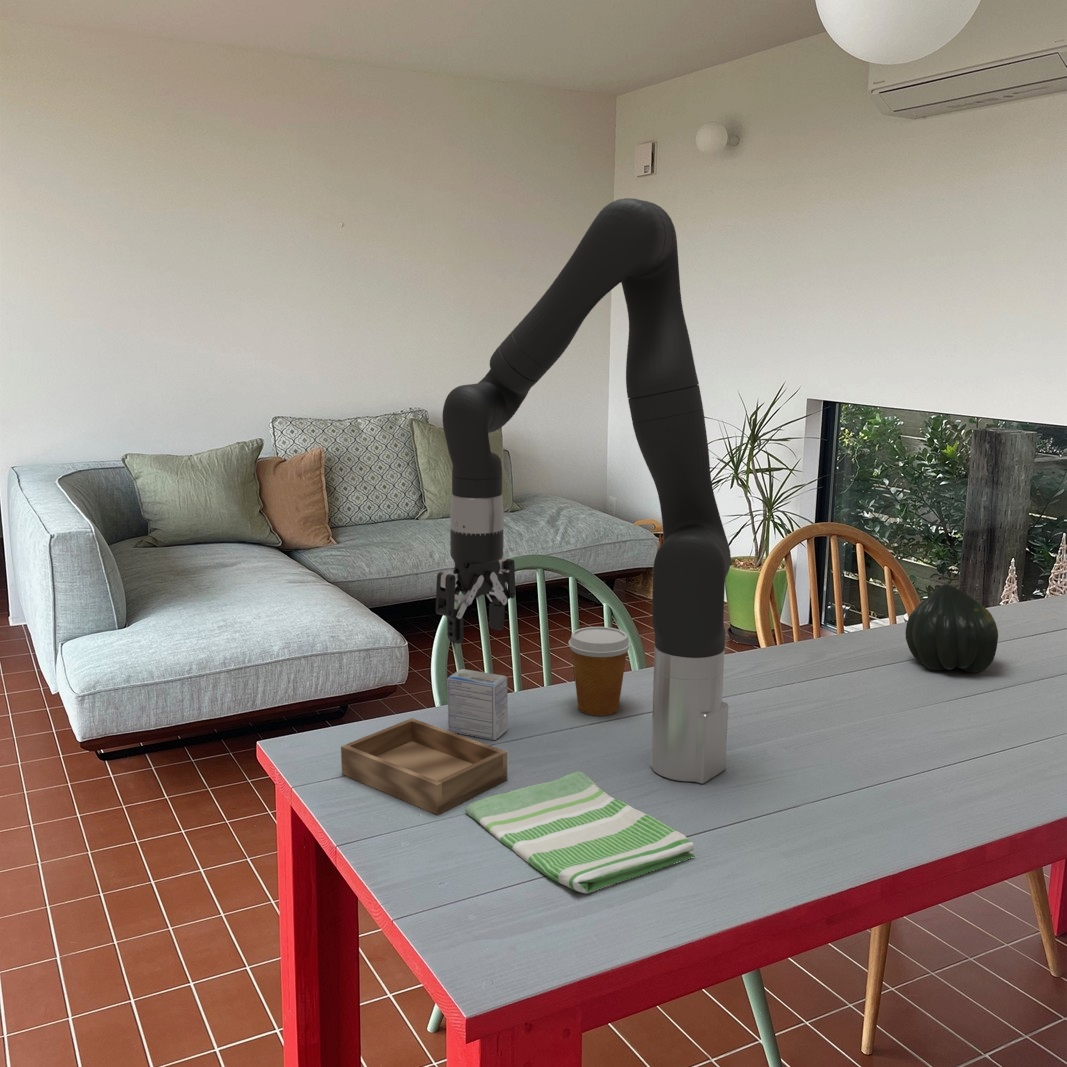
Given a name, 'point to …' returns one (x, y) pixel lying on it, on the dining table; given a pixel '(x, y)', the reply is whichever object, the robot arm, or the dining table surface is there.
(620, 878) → the dish towel
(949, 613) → the squash
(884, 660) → the dining table surface
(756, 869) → the dining table surface
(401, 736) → the tray
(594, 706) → the disposable coffee cup
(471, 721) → the medicine box
